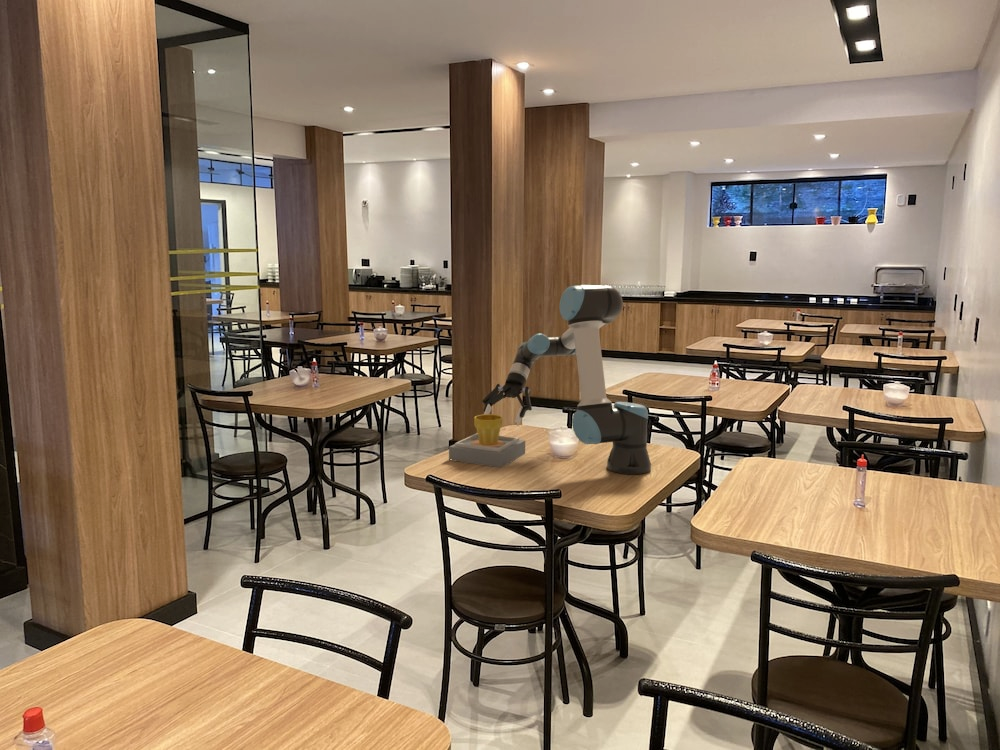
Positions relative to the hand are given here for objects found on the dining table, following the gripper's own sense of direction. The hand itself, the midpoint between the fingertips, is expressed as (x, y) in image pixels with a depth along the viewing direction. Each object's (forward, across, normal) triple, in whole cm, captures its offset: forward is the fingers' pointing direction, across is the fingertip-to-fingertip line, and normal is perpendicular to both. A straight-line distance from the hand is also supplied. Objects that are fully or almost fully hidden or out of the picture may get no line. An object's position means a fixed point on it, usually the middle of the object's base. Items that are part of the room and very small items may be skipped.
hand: (500, 421), depth 275 cm
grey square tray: (+15, 0, -1) cm, 15 cm away
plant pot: (+11, 0, +2) cm, 12 cm away
